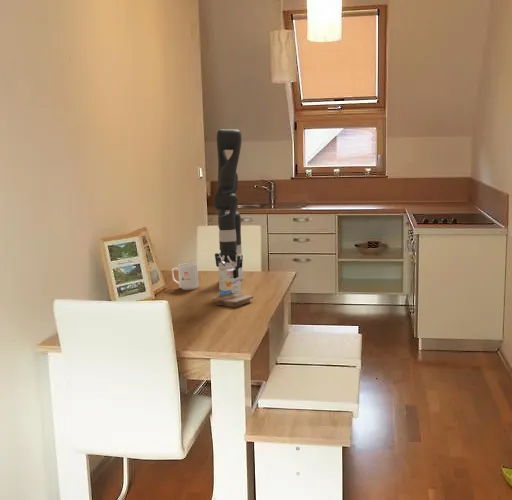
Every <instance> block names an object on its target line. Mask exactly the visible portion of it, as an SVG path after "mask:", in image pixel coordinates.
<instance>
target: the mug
mask: <svg viewBox="0 0 512 500" xmlns="http://www.w3.org/2000/svg"><path fill="white" fill-rule="evenodd" d="M174 270H177V271H178V280H176V278H175V275H174ZM198 272H199V271H198V263H195V262H194V263H193V262H186V263H184V262H183V263H180V264H178V265H177V267H174V268H171V275H172V281H173V282H175V283H176V284H178V286H179V288H180V289H181V290H184V291H189V290H196V289H197V288H198V287H199V274H198Z"/></svg>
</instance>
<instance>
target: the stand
mask: <svg viewBox="0 0 512 500" xmlns="http://www.w3.org/2000/svg"><path fill="white" fill-rule="evenodd" d="M253 299H254V295H249V294H242V293H241V294H234V293H229V294H226V295H223V296H218V297H216V298H213V299H212V302H215V303H216V305H217V306H222V307H224V306H225V307H230V308H237V307H241V306H244V305H246V304H248V303H250V302H251V300H253Z"/></svg>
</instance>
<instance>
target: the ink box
mask: <svg viewBox="0 0 512 500" xmlns="http://www.w3.org/2000/svg"><path fill="white" fill-rule="evenodd" d="M233 263H234V262H233ZM225 264H229V265H228V266H224V265H225ZM225 264H224V265H223V266H222V264H221V263H219V267H218V285H219V287H218V288H219V297H221V296H223V295H226V294H229V293H234V294H242V280H241V279H240V269H238V274H239V276H238V278H234V275H233V270H234V269H233V267H232V265H231V264H230V263H228V262H227V263H225Z"/></svg>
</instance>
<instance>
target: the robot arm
mask: <svg viewBox="0 0 512 500" xmlns="http://www.w3.org/2000/svg"><path fill="white" fill-rule="evenodd" d="M242 139H243V138H242V132H241V130H239V129H235V128H234V129H227V128H222V129H221V128H220V129H218V130H217V132H216V149H217V163H218V164H217V165H218V166H217V167H218V168H217V171H218V172H217V190H216V192H215V194H214V197H213V201H212V202H213V207H214V208H215V210H217V211H218V215H217V225H218V226H217V227H218V229H219V231H218V243H219V246H218V247H219V251H220V252H216V253H214V259H215V264H216V267H217V268H219V263H221V264H222V266H223V265H224V264H225V263H227V262H228V263H230V264H231V265H232V267H233V269H234V270H233V275H234V278H238V276H239V274H238V269H240V279H241V281H242V280H244V273H243V262H244V261H243V260H244V259H243V258H244V257H243V254H242V253H243V251H242V249H243V248H242V233H241V232H242V231H241V230H242V226H241V225H242V219H241V213H240V212H239V211H238V209H237V208H238V204H239V197H238V195H236V193H237V191H238V188H239V180H238V179H239V177H238V173H237V169H238V163H239V159H240V154H241V149H242ZM226 151H232V153H231V155H230V157H229V159H228V156H227V153H226ZM233 262H234V263H233ZM228 265H229V264H225V265H224V266H228Z"/></svg>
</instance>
